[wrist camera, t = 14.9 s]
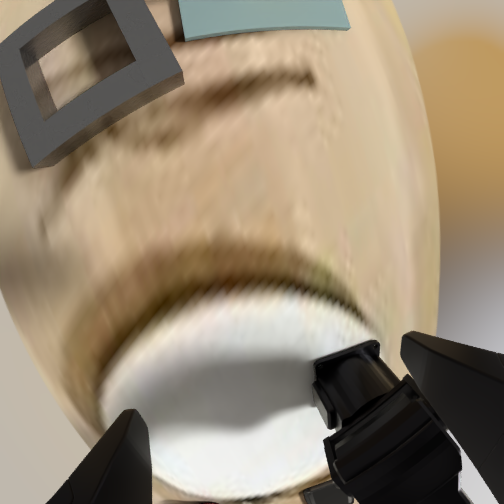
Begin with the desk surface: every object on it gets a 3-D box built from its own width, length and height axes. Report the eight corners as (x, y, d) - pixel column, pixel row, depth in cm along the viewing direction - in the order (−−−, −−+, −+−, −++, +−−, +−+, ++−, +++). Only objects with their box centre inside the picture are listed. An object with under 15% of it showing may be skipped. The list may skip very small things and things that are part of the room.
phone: (354, 474, 33) (353, 504, 37) (351, 469, 34) (351, 499, 38) (303, 493, 32) (313, 519, 37) (300, 488, 33) (311, 514, 38)
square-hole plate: (129, -18, 13) (122, -38, 11) (184, 84, 17) (182, 70, 14) (13, 59, 13) (-7, 49, 10) (53, 166, 17) (32, 167, 14)
